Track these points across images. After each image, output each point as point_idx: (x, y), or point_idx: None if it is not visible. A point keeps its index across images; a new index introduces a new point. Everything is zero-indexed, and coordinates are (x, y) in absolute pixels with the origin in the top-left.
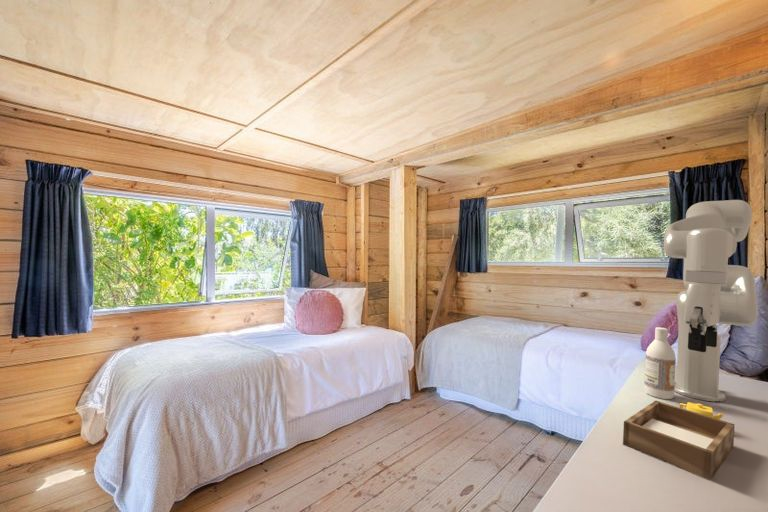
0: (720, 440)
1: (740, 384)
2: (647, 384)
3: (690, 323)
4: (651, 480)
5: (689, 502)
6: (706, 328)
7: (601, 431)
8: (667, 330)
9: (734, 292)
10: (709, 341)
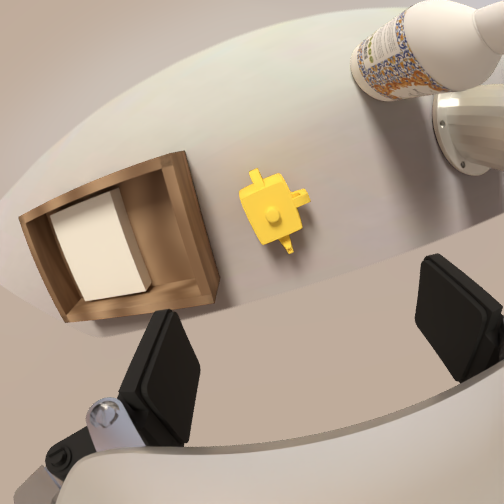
0: (109, 317)
1: None
2: (361, 45)
3: (47, 468)
4: (26, 272)
5: (37, 305)
6: (487, 355)
7: (43, 161)
8: None
9: None
10: (430, 317)
